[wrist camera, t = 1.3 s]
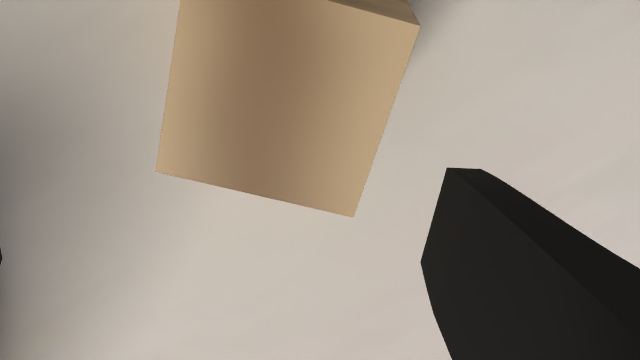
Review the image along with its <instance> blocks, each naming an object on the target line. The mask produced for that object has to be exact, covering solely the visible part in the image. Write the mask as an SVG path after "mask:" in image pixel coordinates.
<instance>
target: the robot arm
mask: <svg viewBox="0 0 640 360" xmlns="http://www.w3.org/2000/svg"><path fill="white" fill-rule="evenodd" d="M1 261H2V254H1V249H0V264H1ZM421 266H422V270H423V275H424V279H425V283H426V287H427V291H428V295H429V299H430V302H431V306H432V310H433V313H434V316H435V318H436V321H437V324H438V326H439V329H440V331H441V334H442V336H443V338H444V341H445V343H446V346H447V348H448V351H449V353H450V356H451V358H452V360H640V269H639V268H638V267H636V266H634V265H633V264H631V263H629V262H627V261H626V260H624V259H622V258H621V257H619V256H617V255H616V254H614V253H612V252H611V251H609V250H608V249H606V248H605V247H603V246H601V245H600V244H598V243H597V242H595V241H593V240H592V239H590V238H589V237H587V236H586V235H584V234H583V233H581V232H579V231H578V230H576V229H575V228H573V227H572V226H570V225H569V224H567V223H566V222H564V221H563V220H561V219H560V218H558V217H557V216H555V215H554V214H552V213H551V212H549V211H548V210H546V209H545V208H543V207H542V206H540V205H539V204H537V203H536V202H534V201H533V200H531V199H530V198H528V197H527V196H525V195H524V194H522V193H521V192H519V191H518V190H516V189H514V188H513V187H511V186H510V185H508V184H507V183H505V182H503V181H502V180H500V179H499V178H497V177H495V176H493V175H492V174H490V173H488V172H486V171H484V170H482V169H466V168H447V169H446V173H445V176H444V180H443V183H442V187H441V191H440V194H439V198H438V201H437V205H436V209H435V212H434V216H433V219H432V223H431V226H430V230H429V234H428V237H427V241H426V244H425V248H424V251H423V255H422V259H421Z"/></svg>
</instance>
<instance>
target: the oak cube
mask: <svg viewBox="0 0 640 360" xmlns="http://www.w3.org/2000/svg"><path fill="white" fill-rule="evenodd" d="M420 27H421V26H420V24H419V22H418V20H417V18H416V16H415V15H414V13H413V11H412V9H411V7H410V5H409V4H408V2H407V0H181V1H180V8H179V14H178V21H177V28H176V35H175V42H174V48H173V55H172V62H171V69H170V76H169V82H168V89H167V96H166V103H165V110H164V117H163V123H162V130H161V137H160V144H159V151H158V157H157V164H156V171H155V172H159V173H163V174H168V175H172V176H176V177H180V178H185V179H189V180H193V181H198V182H202V183H206V184H211V185H215V186H219V187H224V188H228V189H232V190H237V191H241V192H245V193H250V194H254V195H258V196H263V197H267V198H271V199H276V200H280V201H284V202H289V203H293V204H297V205H302V206H306V207H310V208H314V209H319V210H323V211H327V212H332V213H336V214H340V215H345V216H349V217H354V214H355V211H356V209H357V206H358V203H359V200H360V197H361V194H362V192H363V189H364V186H365V183H366V180H367V177H368V174H369V172H370V169H371V166H372V163H373V160H374V157H375V155H376V152H377V149H378V146H379V143H380V140H381V138H382V135H383V132H384V129H385V126H386V123H387V120H388V118H389V115H390V112H391V109H392V106H393V103H394V101H395V98H396V95H397V92H398V89H399V86H400V84H401V81H402V78H403V75H404V72H405V69H406V66H407V64H408V61H409V58H410V55H411V52H412V49H413V47H414V44H415V41H416V38H417V35H418V32H419V30H420Z"/></svg>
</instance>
